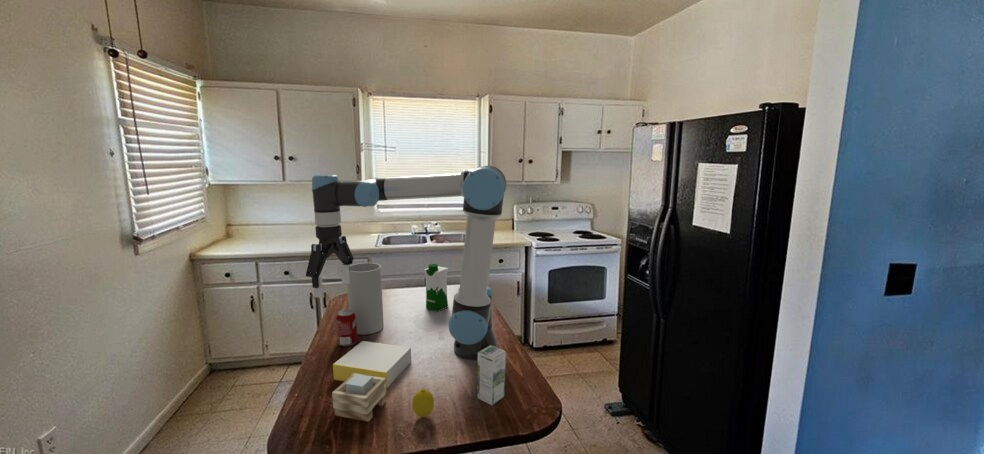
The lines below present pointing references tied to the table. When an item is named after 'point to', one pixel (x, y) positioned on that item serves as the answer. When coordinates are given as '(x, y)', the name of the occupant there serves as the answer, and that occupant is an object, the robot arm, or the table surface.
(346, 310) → the soda can
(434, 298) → the milk carton
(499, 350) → the syrup box
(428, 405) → the lemon
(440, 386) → the table surface
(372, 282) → the cylinder vase
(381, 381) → the wooden crate with cube
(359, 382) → the cargo block
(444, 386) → the table surface
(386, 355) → the dock
